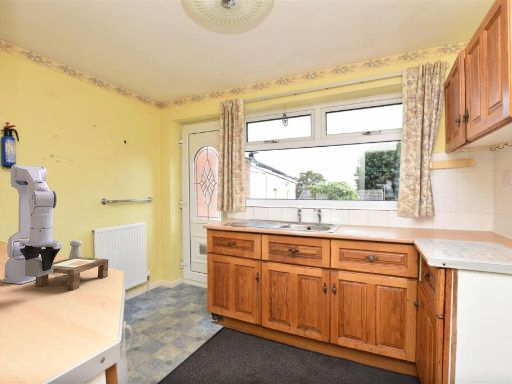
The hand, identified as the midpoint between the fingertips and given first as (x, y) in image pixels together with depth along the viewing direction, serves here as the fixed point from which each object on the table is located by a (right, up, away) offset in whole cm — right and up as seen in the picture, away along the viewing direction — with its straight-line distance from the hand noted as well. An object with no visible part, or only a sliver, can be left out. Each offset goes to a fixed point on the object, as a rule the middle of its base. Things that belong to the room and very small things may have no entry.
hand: (39, 269), depth 82 cm
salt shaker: (-9, -9, +29) cm, 32 cm away
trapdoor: (+1, -3, +15) cm, 15 cm away
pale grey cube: (0, -2, 0) cm, 2 cm away
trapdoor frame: (0, -9, +15) cm, 18 cm away
